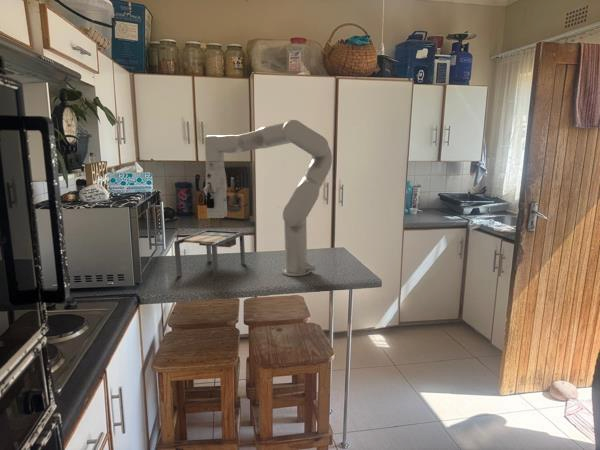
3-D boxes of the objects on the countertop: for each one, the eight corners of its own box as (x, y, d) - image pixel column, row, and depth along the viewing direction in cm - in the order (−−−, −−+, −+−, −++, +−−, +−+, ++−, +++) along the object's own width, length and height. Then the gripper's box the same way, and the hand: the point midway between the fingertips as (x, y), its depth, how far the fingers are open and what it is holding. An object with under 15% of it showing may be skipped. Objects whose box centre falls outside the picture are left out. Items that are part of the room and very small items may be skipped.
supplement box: (224, 218, 165) (223, 188, 163) (206, 218, 165) (205, 188, 163) (227, 215, 172) (226, 186, 170) (210, 215, 172) (209, 186, 170)
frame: (245, 264, 187) (243, 231, 184) (216, 280, 164) (214, 244, 161) (209, 260, 194) (206, 229, 191) (177, 276, 171) (173, 241, 168)
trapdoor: (236, 244, 182) (235, 233, 181) (216, 253, 166) (215, 241, 165) (206, 242, 188) (205, 231, 187) (184, 251, 172) (183, 239, 171)
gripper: (211, 166, 155) (213, 209, 159) (233, 165, 171) (234, 204, 175) (195, 166, 158) (197, 208, 161) (218, 164, 174) (219, 203, 177)
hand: (216, 206), depth 168 cm, fingers closed on supplement box, 8 cm apart
